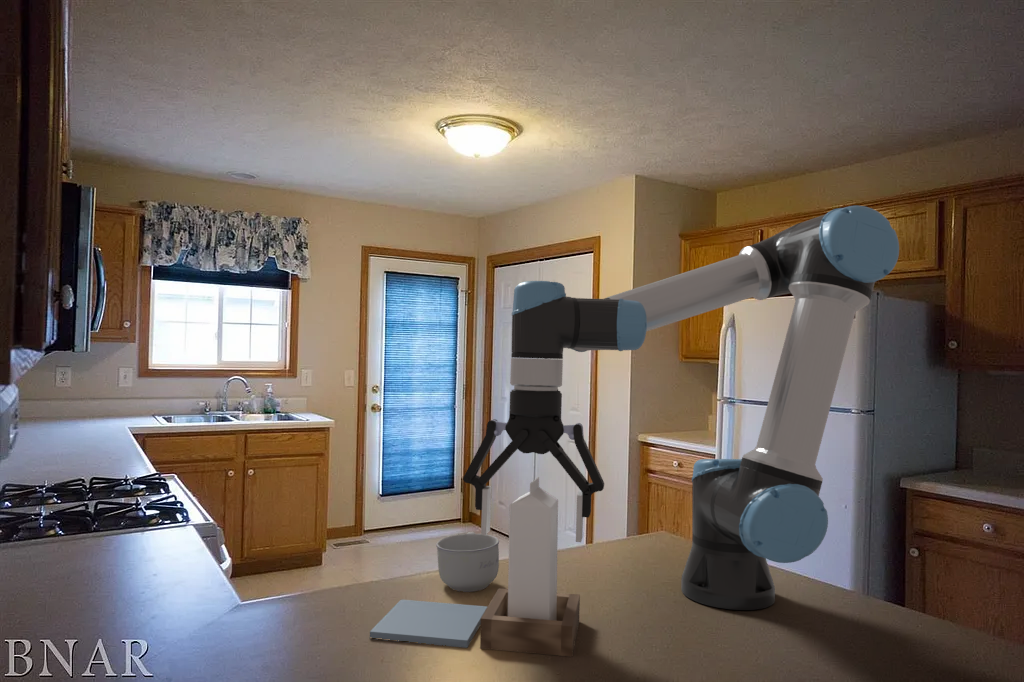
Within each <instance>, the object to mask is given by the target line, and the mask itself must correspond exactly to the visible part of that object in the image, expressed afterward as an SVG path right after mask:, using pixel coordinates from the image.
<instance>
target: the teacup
mask: <svg viewBox="0 0 1024 682" xmlns="http://www.w3.org/2000/svg"><path fill="white" fill-rule="evenodd" d="M499 543H500V539H499V538H498V537H496V536H494V535H491V534H487V535H481V533H476V532H475V531H468V532H467V533H461V534H459V533H458V534H454V535H449V536H445V537H444V538H441V539H439V540H437V542H436V543H435V545H436V550H437V551H436V554H437V555H436V556H437V567H438V575H439V577H440V579H441V581H442V582H443V583H444V584H445V585H446V586H448V588H449V589H451V588H452V589H451V590H453V589H454V590H453V591H455V590H457V591H456V592H460V591H463V592H464V593H469V592H470V593H472V592H477V591H482V590H484V589H486V588H487V587H488V586H489V585H490V584H491V583H492V582H494V580H496V579H497V577H498V576H497V575H498V573H499V568H500V563H499V559H500V555H499V554H500V553H499V552H500V551H499V549H500V548H499ZM463 592H462V593H463Z"/></svg>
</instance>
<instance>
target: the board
mask: <svg viewBox="0 0 1024 682" xmlns="http://www.w3.org/2000/svg"><path fill="white" fill-rule="evenodd" d="M487 607H488V605H486V606H485V605H475V604H474V605H473V604H460V603H451V602H447V603H446V602H436V601H423V600H412V599H400V600H399V601H398V602H397V603H396V604H395V605H394V606H393V607H392V608H390V610H389V611H388V612H387V613H386V615H384V616H383V617H382V618H381V619H380V620H379V621H378V622H377V624H375V626H373V627H372V629H370V630H369V638H370V637H372V638H382V639H390V640H397V641H396V642H399V641H409V642H408V643H410V642H418V643H417V644H421V643H426V644H425V645H431V644H434V646H442V645H443V646H444V647H455V648H456V647H457V648H465V649H468V647H470V643H471V642H472V640H473V639H474V636H475V635H476V634H477V631H478V630H479V628H481V617H482V616H483V614H484V612H485V610H486V609H487ZM398 640H399V641H398ZM445 645H446V646H445Z"/></svg>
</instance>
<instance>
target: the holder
mask: <svg viewBox="0 0 1024 682" xmlns="http://www.w3.org/2000/svg"><path fill="white" fill-rule="evenodd" d="M580 598H581V595H580V594H577V593H564V592H557V616H556V621H555V620H543V619H531V618H519V617H508V588H497V591H496V592H495V594H494V595H493V597H492V599H491V600H490V602H489V604H488V605H487V609H486V610H485V612H484V614H483V616H482V617H481V625H480V634H479V635H480V637H479V639H480V644H479V646H480V647H479V649H484V650H485V649H486V650H495V651H496V650H497V651H506V652H517V653H529V654H539V655H551V656H559V657H570V658H573V655H574V651H575V650H574V649H575V644H576V640H577V635H578V629H579V625H580V609H581V608H580V606H581V605H580V602H581V601H580V600H581V599H580Z"/></svg>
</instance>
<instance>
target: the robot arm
mask: <svg viewBox="0 0 1024 682" xmlns="http://www.w3.org/2000/svg"><path fill="white" fill-rule="evenodd" d="M738 253H739V254H737V255H735V256H732V257H729V258H726V259H723V260H719V261H717V262H714V263H710V264H707V265H705V266H700V267H698V268H697V267H696V268H695V269H691V270H688V271H685V272H682V273H679V274H676V275H673V276H670V277H667V278H664V279H661V280H657V281H654V282H653V281H652V282H651V283H647V284H645V285H641V286H637V287H635V288H632V289H629V290H625V291H622V292H619V293H617V294H616V293H615V294H613V295H610V296H607V297H605V298H581V297H579V298H578V297H571V296H567V293H566V291H565V290H566V288H565V286H564V284H563V283H561V282H558V281H551V280H526V281H522V282H520V283H518V284H517V285H516V286H515V287H514V291H513V292H514V293H513V301H512V303H513V304H512V312H511V355H510V356H511V358H510V375H509V376H510V385H511V386H513V389H511V391H509V411H508V412H509V414H508V415H509V416H508V421H507V422H504V421H499V420H498V419H496V418H494V419H493V418H492V419H491V420H489V421H487V425H486V429H485V436H484V438H483V440H482V442H481V443H480V445H479V447H478V449H477V451H476V453H475V455H474V456H473V459H472V460H471V462H470V464H469V466H468V468H467V469H466V471H465V473H464V475H463V479H462V480H463V482H464V483H466V484H470V485H472V486H473V487H474V488H475V496H474V497H475V498H474V499H475V502H474V505H475V506H474V507H475V509H476V511H481V524H480V526H481V527H480V534H481V535H487V534H488V533H489V532H491V511H492V510H491V509H492V486H491V485H487V484H488V482H490V480H491V479H492V478H493V477H494V476H495V475H496V473H497V472H498V471H499V470H500V469H501V468H502V467H503V466H504V464H506V462H507V461H508V460H509V459H510V457H512V456H513V455H514V453H515V452H516V451H519V452H521V453H522V454H531V453H534V454H537V455H544V454H545V455H546V454H547V453H549V452H550V454H551V455H552V456H553V457H554V458H555V460H556V461H558V463H559V464H560V465H561V467H562V468H563V469H564V471H565V472H566V474H567V475H568V476H569V477H570V479H571V480H572V481H573V483H574V484H575V485H576V486H577V487H578V489H579V490H580V491H578V492H577V494H576V517H575V520H576V521H575V542H576V543H582V540H583V537H584V536H583V531H584V530H583V528H584V527H583V526H584V518H587V519H588V518H590V516H591V512H592V495H593V494H594V493H597V492H598V493H599V492H602V491H603V490H604V489H605V482H604V478H603V477H602V474H601V473H600V471H599V468H598V466H597V464H596V462H595V460H594V457H593V456H592V453H591V452H590V449H589V447H588V444H587V442H586V440H585V436H584V427H583V424H582V423H580V422H577V423H575V424H569V425H568V424H567V425H564V423H563V421H562V400H563V399H562V398H563V394H562V392H561V391H560V390H559V388H560V387H562V386H563V366H564V364H563V362H564V361H563V360H564V357H563V356H564V355H563V354H564V349H567V350H568V349H570V350H574V351H575V352H577V353H583V352H587V351H617V352H623V351H637V350H639V349H640V348H641V347H642V346H643V344H644V342H645V339H646V334H647V332H649V331H653V330H656V329H658V328H661V327H664V326H668V325H670V324H674V323H676V322H680V321H683V320H686V319H689V318H692V317H696V316H698V315H701V314H705V313H707V312H711V311H714V310H717V309H720V308H724V307H727V306H730V305H732V304H735V303H738V302H743V301H745V300H749V299H750V298H753V299H755V300H758V301H763V300H766V299H769V298H770V299H771V298H774V297H777V296H782V295H787V294H789V295H790V294H791V295H792V296H793V298H794V299H795V302H794V304H793V309H792V314H791V317H790V321H789V323H788V327H787V331H786V336H785V338H784V339H785V340H784V342H783V346H782V350H781V354H780V356H779V360H778V365H777V368H776V371H775V372H776V373H775V375H774V379H773V382H772V387H771V390H770V394H769V398H768V401H767V406H766V409H765V413H764V417H763V421H762V423H761V428H760V432H759V435H758V439H757V442H756V446H755V448H754V449H752V450H750V451H748V452H746V453H744V454H743V455H742V457H741V458H705V459H704V458H702V459H701V458H700V459H698V460H696V462H694V463H693V467H692V468H693V471H692V477H691V483H692V492H691V495H692V497H691V498H692V501H691V502H692V505H691V507H692V508H691V509H692V510H691V511H692V513H691V514H692V515H691V516H692V518H691V519H692V521H691V522H692V524H691V525H692V529H691V531H692V533H691V534H692V535H691V536H692V539H691V540H692V541H691V542H692V543H691V548H690V552H689V555H688V557H687V560H686V563H685V565H684V569H683V572H682V574H681V584H680V585H681V586H680V587H681V592H682V594H683V595H684V596H685V597H687V598H688V599H690V600H692V601H693V602H696V603H699V604H702V605H706V606H708V607H712V608H713V607H714V608H719V609H724V610H734V611H753V610H760V609H761V610H762V609H766V608H768V607H770V606H773V604H775V602H776V587H775V583H774V581H773V577H772V574H771V571H770V568H769V564H768V561H771V562H775V563H780V564H788V563H789V564H791V563H795V562H799V561H801V560H802V559H805V558H806V557H809V556H810V555H811V554H813V553H815V551H816V550H817V549H818V548H819V547H820V545H821V544H822V542H823V541H824V539H825V537H826V535H827V531H828V527H829V526H828V525H829V516H828V510H827V509H826V507H825V506H824V505H825V504H824V501H823V500H822V499H821V497H820V492H821V489H822V486H823V485H822V484H823V481H824V480H823V477H822V475H821V473H820V472H819V470H818V469H817V466H816V462H817V459H818V455H819V452H820V448H821V444H822V440H823V437H824V432H825V429H826V424H827V421H828V417H829V413H830V409H831V406H832V403H833V398H834V395H835V391H836V387H837V383H838V379H839V377H840V373H841V372H840V371H841V368H842V364H843V360H844V357H845V353H846V350H847V345H848V341H849V338H850V334H851V329H852V327H853V322H854V319H855V315H856V314H857V312H858V311H860V310H862V309H863V308H865V307H866V306H869V305H870V302H871V298H872V294H873V292H874V286H875V283H876V282H877V281H880V280H882V279H884V278H885V277H886V276H888V275H889V274H890V273H891V272H892V271H893V270H894V268H895V267H896V264H897V263H898V259H899V255H900V242H899V239H898V234H897V232H896V229H894V228H893V227H892V225H891V222H890V221H889V220H888V218H887V217H886V216H885V215H883V214H882V213H881V212H880V211H877V209H874V208H871V207H868V206H864V205H849V206H845V207H839V208H833V209H832V210H830V211H828V212H827V213H825V214H822V215H820V216H817V217H813V218H811V219H807V220H804V221H801V222H798V223H796V224H793V225H792V226H790V227H788V228H786V229H784V230H782V231H780V232H778V233H776V234H774V235H772V236H770V237H768V238H765V239H764V240H763V239H762V240H761V241H759V242H756V243H754V244H750V245H748V246H744V247H743V248H742V249H740V251H739V252H738ZM503 431H506V433H507V435H508V437H509V438H510V440H511V442H509V444H508V445H507V446H506V447H505V448H504V450H503V451H501V453H500V454H499V455H498V456H497V457H496V458H495V460H494V461H493V462H492V463H491V464H490V465H489V466H488V467H487V469H486V470H485V471H483V473H482V474H481V475H477V474H478V472H479V471H480V469H481V467H482V465H483V463H484V461H485V459H486V457H487V455H488V454H489V452H490V450H491V449H492V446H493V444H494V442H495V440H496V438H497V437H499V436H500V435H501V434H502V433H503ZM564 434H566V435H567V436H568V438H569V440H571V441H574V445H575V448H576V449H577V451H578V454H579V457H581V461H582V462H583V465H584V467H585V469H586V471H587V473H588V476H589V477H590V479H591V482H589V481H588V480H587V478H586V477H585V476H584V474H583V473H582V472H581V471H580V470H579V468H578V467H577V466H576V464H575V463H574V462H573V460H572V458H570V456H568V454H567V453H566V451H565V449H563V447H562V446H561V444H560V443H559V442H558V441H559V440H560V439H561V437H562V436H563V435H564ZM488 535H489V534H488Z"/></svg>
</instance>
